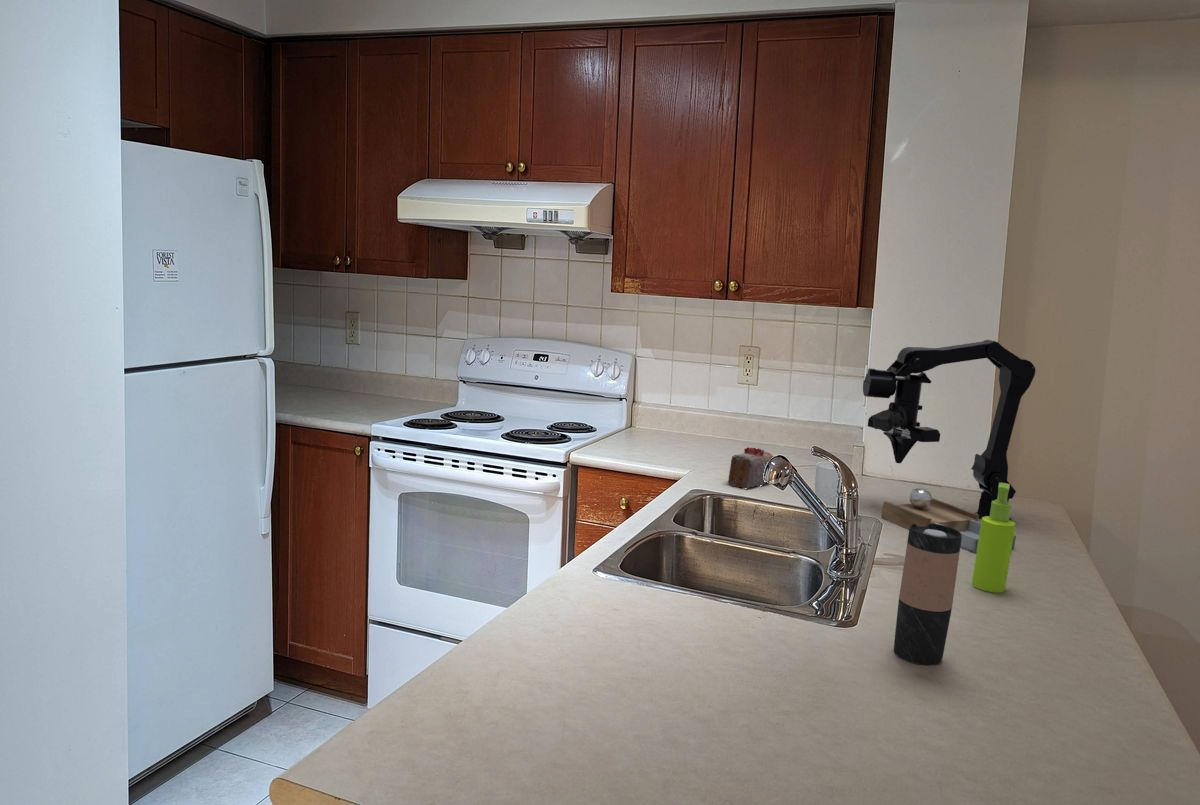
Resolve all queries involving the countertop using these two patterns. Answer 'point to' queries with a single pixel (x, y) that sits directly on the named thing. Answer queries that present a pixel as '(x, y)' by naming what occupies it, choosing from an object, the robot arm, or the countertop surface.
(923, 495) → the ball
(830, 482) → the white cup
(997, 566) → the soap dispenser
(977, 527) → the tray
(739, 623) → the countertop surface
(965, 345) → the robot arm
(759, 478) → the food item
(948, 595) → the travel mug
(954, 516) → the deck
